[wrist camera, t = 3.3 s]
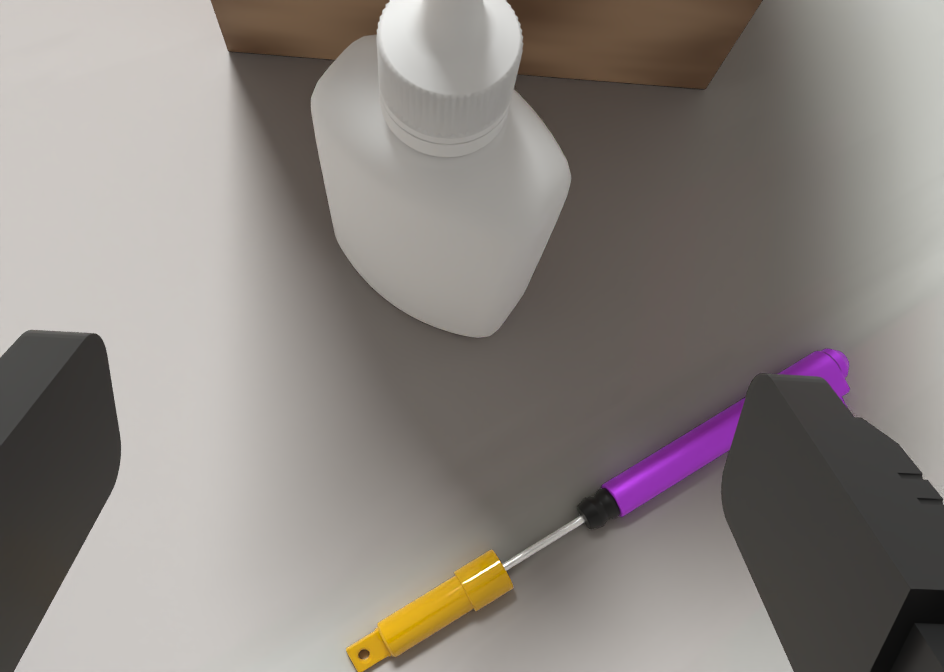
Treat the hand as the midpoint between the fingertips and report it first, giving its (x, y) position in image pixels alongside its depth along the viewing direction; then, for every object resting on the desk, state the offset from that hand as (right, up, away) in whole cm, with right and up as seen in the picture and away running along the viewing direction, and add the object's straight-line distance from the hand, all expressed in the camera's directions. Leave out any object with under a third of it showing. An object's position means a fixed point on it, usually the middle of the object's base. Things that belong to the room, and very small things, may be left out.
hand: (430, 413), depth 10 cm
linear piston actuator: (+5, -4, +12) cm, 14 cm away
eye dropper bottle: (-1, +3, +13) cm, 14 cm away
